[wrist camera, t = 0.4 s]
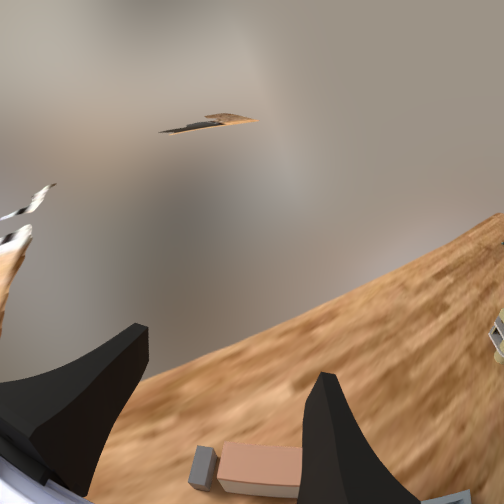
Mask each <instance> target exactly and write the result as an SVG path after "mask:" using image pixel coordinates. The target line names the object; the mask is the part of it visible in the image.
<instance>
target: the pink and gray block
mask: <svg viewBox="0 0 504 504" xmlns="http://www.w3.org/2000/svg"><path fill="white" fill-rule="evenodd" d="M301 472H302V447H283V446H267V445H255V444H245V443H236V442H227V441H224V446H223V451H222V455H221V460H220V464H219V469H218V474H217V479H218V481H219V482H220V484H221V485H222V487H223V488H224V490H225V491H226V492H231V493H238V494H247V495H256V496H268V497H283V498H298V493H299V487H300V481H301Z"/></svg>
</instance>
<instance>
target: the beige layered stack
mask: <svg viewBox="0 0 504 504" xmlns="http://www.w3.org/2000/svg"><path fill="white" fill-rule="evenodd" d="M494 324H495V326H493V327H492V329H491V330H490V332H489V336H490V338H491V340H492V342H493V343H494V345H495V347H496V349H497V350H496V352H495V353H494V358H495V360H496V361H497V362H498V363H499V364H504V308H502V309H501V311H500V313H499V315H498V317H497V319H496V321H495V323H494Z"/></svg>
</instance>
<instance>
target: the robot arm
mask: <svg viewBox="0 0 504 504" xmlns="http://www.w3.org/2000/svg"><path fill="white" fill-rule="evenodd" d="M148 344H149V343H148V327H146V326H143V325H140V324H137V323H134V324H132V325H131V326H129V327H128V328H127V329H125V330H123V331H122V332H121V333H119V334H118V335H116V336H115V337H113V338H112V339H110V340H109V341H107V342H106V343H104V344H102V345H101V346H99V347H98V348H96V349H94V350H93V351H91V352H89V353H88V354H86V355H84V356H82V357H80V358H79V359H77V360H75V361H73V362H71V363H68V364H66V365H64V366H62V367H59V368H57V369H54V370H52V371H49V372H46V373H43V374H40V375H37V376H34V377H29V378H25V379H21V380H16V381H10V382H3V383H0V504H94V503H92V502H90V501H88V500H86V499H84V498H82V497H86V496H87V494H88V491H89V487H90V484H91V481H92V478H93V474H94V472H95V469H96V466H97V463H98V460H99V458H100V455H101V453H102V450H103V448H104V445H105V443H106V440H107V438H108V436H109V434H110V431H111V429H112V427H113V425H114V423H115V421H116V419H117V417H118V416H119V414H120V412H121V411H122V409H123V408H124V406H125V404H126V403H127V401H128V399H129V398H130V396H131V395H132V393H133V391H134V390H135V388H136V386H137V385H138V383H139V381H140V380H141V378H142V375H143V373H144V371H145V369H146V366H147V364H148V362H149V345H148ZM297 504H421V501H419V500H418V499H417V498H416V497H415V496H414V495H412V494H411V493H410V492H409V491H408V490H407V489H405V488H404V487H403V486H402V485H401V484H400V483H399V482H398V481H397V480H396V479H395V478H394V476H393V475H392V474H391V473H390V472H389V471H388V469H387V468H386V467H385V466H384V465H383V463H382V462H381V461H380V460H379V458H378V457H377V455H376V454H375V453H374V451H373V450H372V448H371V447H370V445H369V444H368V442H367V440H366V439H365V437H364V435H363V433H362V432H361V430H360V428H359V426H358V424H357V422H356V420H355V418H354V416H353V414H352V412H351V410H350V408H349V405H348V403H347V401H346V399H345V396H344V394H343V391H342V389H341V387H340V384H339V382H338V379H337V377H336V375H335V374H331V373H325V372H321V373H320V375H319V377H318V379H317V381H316V383H315V385H314V387H313V389H312V391H311V393H310V394H309V396H308V398H307V400H306V403H305V410H304V417H303V434H302V472H301V481H300V487H299V493H298V499H297Z"/></svg>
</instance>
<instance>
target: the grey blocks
mask: <svg viewBox="0 0 504 504" xmlns="http://www.w3.org/2000/svg"><path fill="white" fill-rule="evenodd" d="M216 460H217V455H216V453H215V451H214V449H213V448H211V447H204V446H198V445H197V449H196V453H195V456H194V460H193V464H192V468H191V472H190V476H189V479H188V483H189V484H190V485H191V486H192V487H193V488H194V489H199V490H204V491H210V487H211V482H212V478H213V474H214V469H215V465H216Z"/></svg>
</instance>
